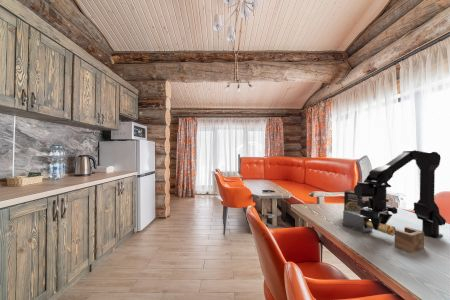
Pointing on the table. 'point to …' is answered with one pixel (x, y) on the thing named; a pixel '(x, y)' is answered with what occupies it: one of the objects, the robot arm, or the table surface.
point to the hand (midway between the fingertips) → (378, 229)
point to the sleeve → (355, 221)
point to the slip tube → (381, 227)
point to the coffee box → (351, 201)
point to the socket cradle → (409, 239)
